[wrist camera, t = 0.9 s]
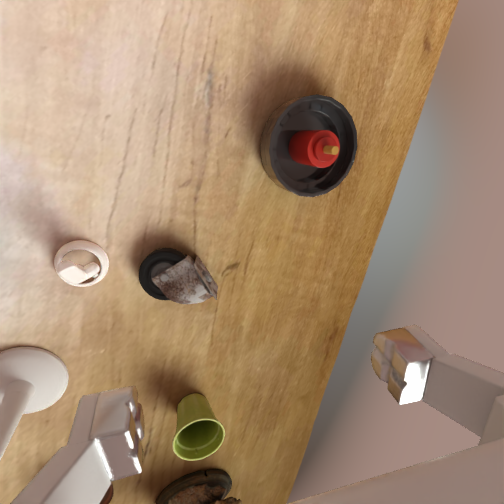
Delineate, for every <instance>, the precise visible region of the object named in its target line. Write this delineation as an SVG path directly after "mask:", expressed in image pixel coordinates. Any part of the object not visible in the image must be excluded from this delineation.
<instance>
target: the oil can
mask: <svg viewBox="0 0 504 504" xmlns="http://www.w3.org/2000/svg"><path fill="white" fill-rule="evenodd" d="M339 150H340V144H339V140H338V138H337V136H336V135H335V134H334V133H333V132H331V131H329V130H301V131H298V132H297V133H295V134H294V135H293V136H292V138H291V140H290V142H289V154H290V156H291V158H292V159H293V160H294V161H295V162H297V163H300V164H304V165H309V166H314V167H319V168H325V167H328V166H330V165H331V164H332V163H334V161H335V160H336V159H337V157H338V154H339Z"/></svg>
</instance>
